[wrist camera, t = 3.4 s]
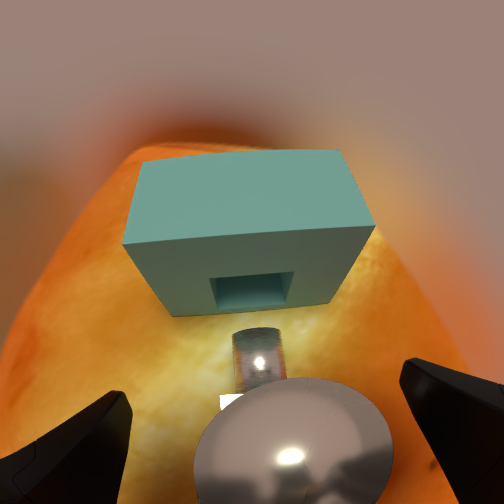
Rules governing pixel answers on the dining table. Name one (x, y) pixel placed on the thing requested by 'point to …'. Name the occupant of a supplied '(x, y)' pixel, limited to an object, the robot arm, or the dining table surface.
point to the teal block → (246, 229)
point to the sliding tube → (290, 436)
